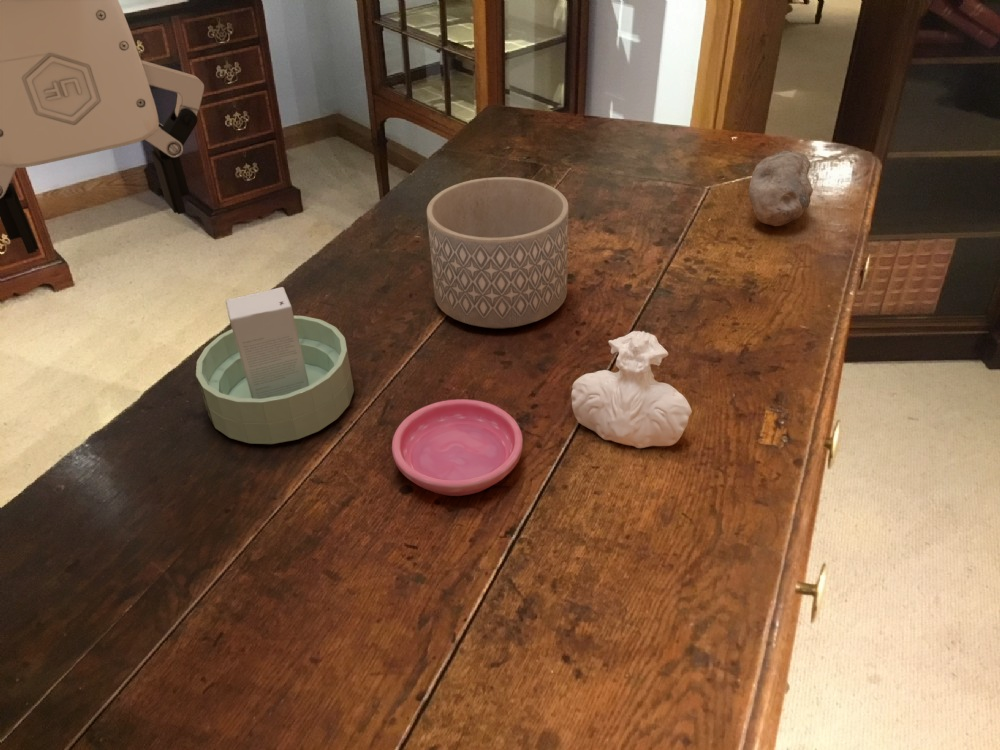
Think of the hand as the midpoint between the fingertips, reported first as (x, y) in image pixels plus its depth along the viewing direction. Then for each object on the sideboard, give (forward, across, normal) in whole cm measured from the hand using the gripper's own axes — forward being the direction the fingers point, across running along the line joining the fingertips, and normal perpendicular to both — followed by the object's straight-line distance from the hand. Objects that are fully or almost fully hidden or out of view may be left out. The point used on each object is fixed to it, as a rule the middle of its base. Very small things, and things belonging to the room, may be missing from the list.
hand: (105, 225), depth 59 cm
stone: (+31, +86, +14) cm, 93 cm away
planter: (+31, +42, +18) cm, 55 cm away
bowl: (+30, +12, +14) cm, 35 cm away
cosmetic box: (+30, +12, +14) cm, 35 cm away
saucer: (+31, +23, -5) cm, 39 cm away
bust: (+31, +40, -10) cm, 51 cm away
